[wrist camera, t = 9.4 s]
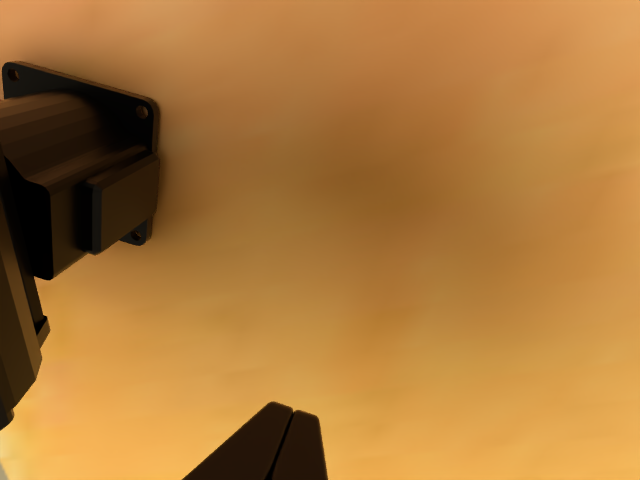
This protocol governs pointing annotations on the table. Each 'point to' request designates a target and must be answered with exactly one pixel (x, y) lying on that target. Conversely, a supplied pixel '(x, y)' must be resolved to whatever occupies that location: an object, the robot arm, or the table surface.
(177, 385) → the table surface
